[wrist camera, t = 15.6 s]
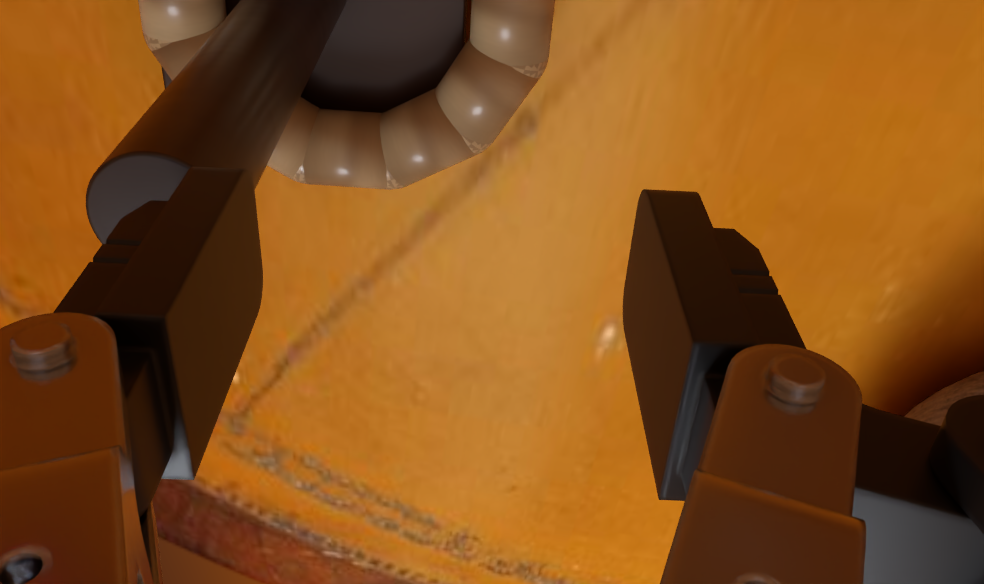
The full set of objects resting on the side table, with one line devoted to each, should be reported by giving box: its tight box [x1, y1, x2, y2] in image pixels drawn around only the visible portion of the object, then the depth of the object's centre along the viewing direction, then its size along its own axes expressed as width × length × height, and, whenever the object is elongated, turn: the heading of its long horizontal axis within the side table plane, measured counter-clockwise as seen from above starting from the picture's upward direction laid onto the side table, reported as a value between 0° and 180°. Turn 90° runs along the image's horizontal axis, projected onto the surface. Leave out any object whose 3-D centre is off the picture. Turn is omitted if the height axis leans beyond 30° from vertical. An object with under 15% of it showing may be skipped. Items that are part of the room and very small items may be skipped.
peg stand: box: [86, 0, 467, 244], centre depth 18 cm, size 8×8×13 cm
